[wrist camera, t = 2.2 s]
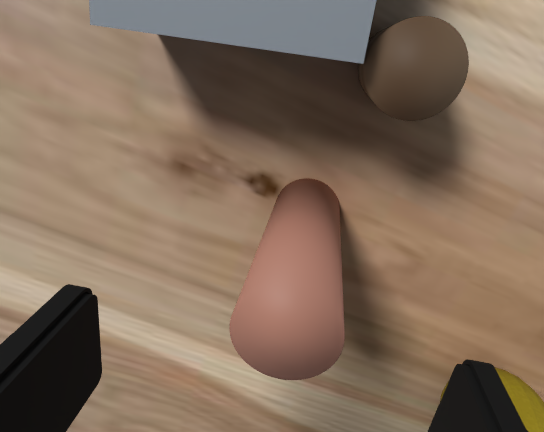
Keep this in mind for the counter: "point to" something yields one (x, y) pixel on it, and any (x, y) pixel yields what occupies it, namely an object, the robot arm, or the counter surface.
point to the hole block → (250, 23)
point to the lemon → (523, 401)
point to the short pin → (414, 68)
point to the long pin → (294, 288)
